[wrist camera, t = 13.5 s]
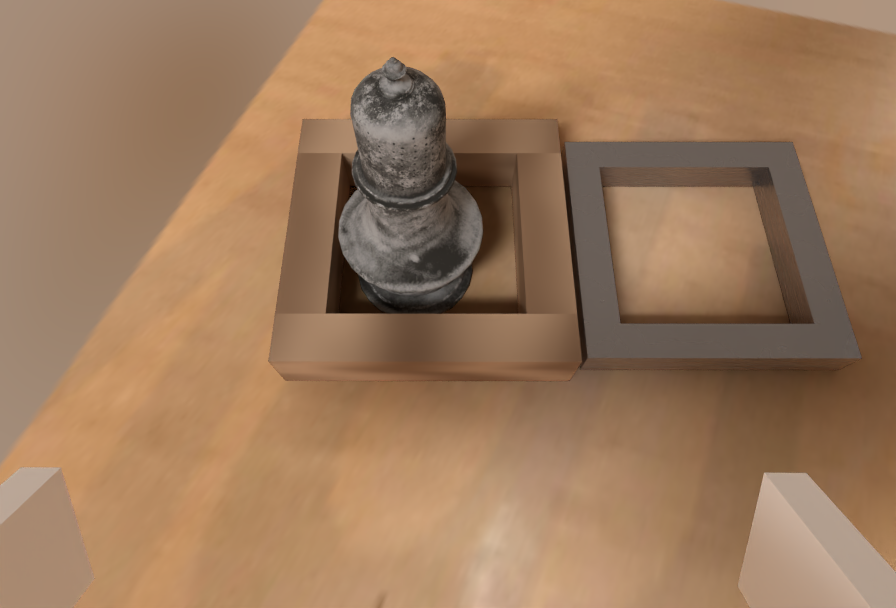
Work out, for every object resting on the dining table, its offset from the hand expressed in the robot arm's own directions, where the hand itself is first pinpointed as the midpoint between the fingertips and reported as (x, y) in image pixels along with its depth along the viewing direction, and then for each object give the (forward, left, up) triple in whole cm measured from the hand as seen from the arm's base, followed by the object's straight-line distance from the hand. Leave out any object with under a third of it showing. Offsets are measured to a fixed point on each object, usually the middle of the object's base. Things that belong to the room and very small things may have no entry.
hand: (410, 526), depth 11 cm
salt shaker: (+1, -12, -12) cm, 17 cm away
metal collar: (-12, -12, -11) cm, 21 cm away
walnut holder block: (0, -12, -11) cm, 17 cm away
